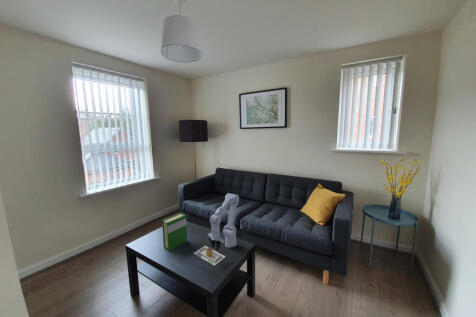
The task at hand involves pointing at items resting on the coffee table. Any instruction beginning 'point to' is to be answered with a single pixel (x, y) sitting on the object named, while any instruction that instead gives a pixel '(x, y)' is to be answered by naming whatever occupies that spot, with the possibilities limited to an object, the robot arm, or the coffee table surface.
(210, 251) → the lever
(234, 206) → the robot arm
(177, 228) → the hardback book
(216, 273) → the coffee table surface
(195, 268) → the coffee table surface
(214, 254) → the white flat tray
